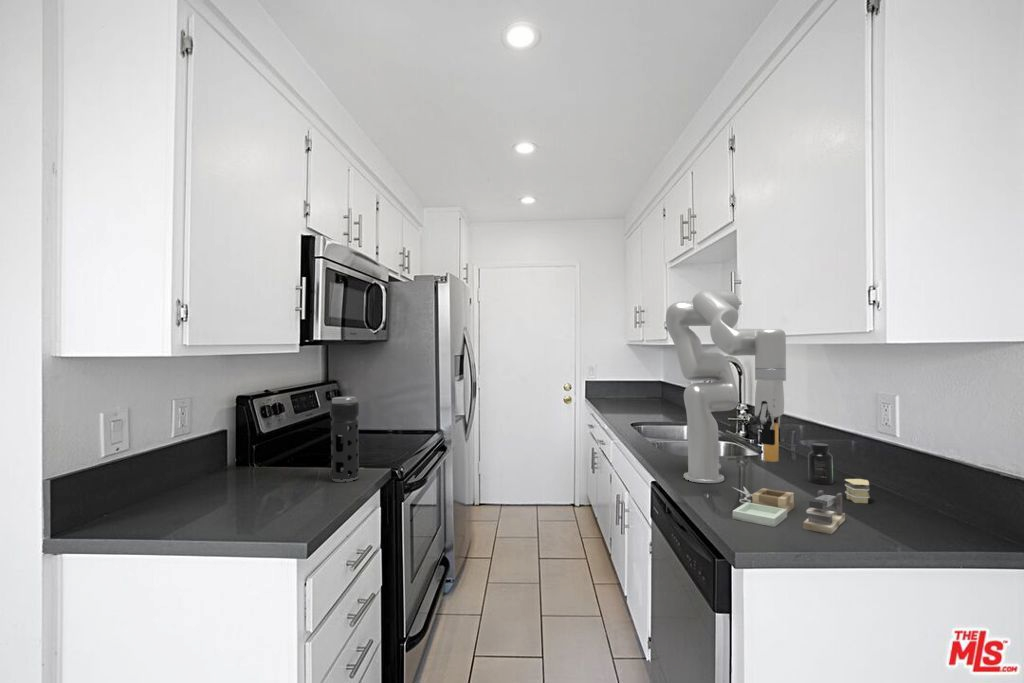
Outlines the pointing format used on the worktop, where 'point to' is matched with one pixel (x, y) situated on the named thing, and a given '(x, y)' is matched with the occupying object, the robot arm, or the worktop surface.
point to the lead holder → (774, 498)
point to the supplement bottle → (820, 464)
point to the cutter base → (825, 527)
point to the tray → (760, 514)
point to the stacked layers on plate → (857, 490)
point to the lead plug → (772, 447)
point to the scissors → (745, 494)
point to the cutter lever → (822, 501)
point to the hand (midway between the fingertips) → (770, 442)
